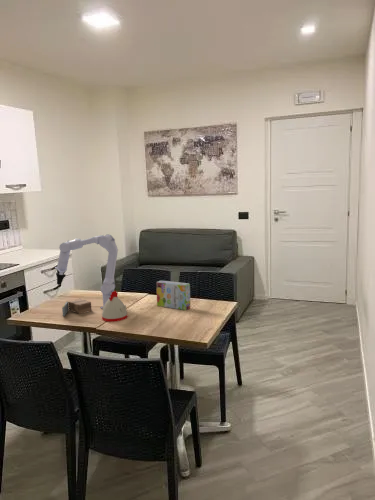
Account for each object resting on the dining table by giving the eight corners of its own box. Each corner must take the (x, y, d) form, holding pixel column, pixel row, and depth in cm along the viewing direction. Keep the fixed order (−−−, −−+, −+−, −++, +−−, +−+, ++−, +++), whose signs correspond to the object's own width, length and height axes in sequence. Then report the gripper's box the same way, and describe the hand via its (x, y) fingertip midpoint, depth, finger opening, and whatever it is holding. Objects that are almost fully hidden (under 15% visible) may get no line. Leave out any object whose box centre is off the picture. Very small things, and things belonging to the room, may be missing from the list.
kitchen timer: (131, 314, 230) (130, 289, 228) (119, 322, 217) (117, 295, 215) (110, 313, 235) (108, 287, 232) (97, 320, 222) (95, 294, 220)
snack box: (191, 308, 238) (190, 283, 236) (186, 310, 234) (185, 285, 231) (161, 303, 249) (160, 279, 247) (156, 306, 245) (155, 281, 242)
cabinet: (91, 310, 240) (90, 301, 240) (79, 313, 235) (78, 305, 234) (80, 306, 249) (80, 298, 248) (69, 310, 243) (68, 301, 242)
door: (67, 309, 243) (66, 300, 242) (69, 309, 243) (68, 300, 242) (62, 316, 231) (61, 306, 230) (64, 316, 231) (64, 306, 230)
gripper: (56, 256, 249) (52, 277, 251) (55, 263, 235) (51, 285, 238) (68, 258, 251) (64, 279, 254) (68, 265, 238) (64, 287, 240)
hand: (59, 282), depth 246 cm, fingers open, 7 cm apart
